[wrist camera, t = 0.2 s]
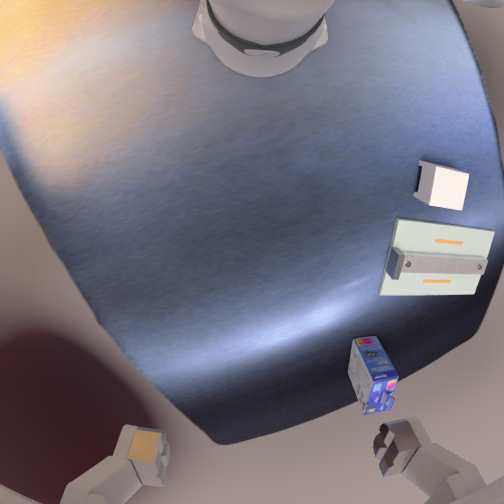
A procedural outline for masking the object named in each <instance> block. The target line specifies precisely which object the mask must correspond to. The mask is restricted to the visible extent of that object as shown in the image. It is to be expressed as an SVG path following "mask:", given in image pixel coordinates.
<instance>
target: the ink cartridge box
mask: <svg viewBox="0 0 504 504" xmlns="http://www.w3.org/2000/svg"><path fill="white" fill-rule="evenodd" d="M348 374H349V377H350V379H351V382H352V385H353V387H354V390H355V392H356V395H357V398H358V401H359V403H360V406H361V408H362V411H363V414H364V415H366V414H370V413H374V412H380V411H384V410H387V409H388V410H391V408H392V405H393V403H394V400H395V399H394V398H393V397H392V395H393V392H394V390H395V386H396V384H397V381H398V377H399V376H398V374H397V372H396V371H395V369H394V367H393V365H392V363H391V361H390V360H389V358H388V356H387V354H386V352H385V351H384V349H383V347H382V345H381V344H380V342H379V340H378V338H377V337H376V336H369V337H362V338H355V339H353V342H352V349H351V355H350V362H349V368H348Z"/></svg>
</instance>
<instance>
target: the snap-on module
mask: <svg viewBox="0 0 504 504" xmlns="http://www.w3.org/2000/svg"><path fill="white" fill-rule="evenodd" d="M419 165H420V166H422V171H421V177H420V183H419V188H418V192H415V191H414V195H413V196H414V197H416V198H418V199H419V200H421V201H423V202H424V203H426V204H428V205H431V206H438V207H444V208H450V209H456V210H462V207H463V203H464V198H465V193H466V188H467V183H468V178H469V174H467V173H465V172H462V171H459V170H457V169H454V168H451V167H447V166H442V165H438V164H434V163H429V162H425V161H420V160H419Z"/></svg>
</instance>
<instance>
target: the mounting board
mask: <svg viewBox="0 0 504 504" xmlns="http://www.w3.org/2000/svg"><path fill="white" fill-rule="evenodd" d="M493 236H494V231H492V230H488V229H481V228H474V227H467V226H460V225H452V224H444V223H436V222H428V221H420V220H411V219H402V218H396V222H395V226H394V231H393V235H392V240H391V244H390V248H389V252H388V256H387V261H386V264H385V268H384V272H383V276H382V280H381V283H380V287H379V290H378V293H379V295H458V294H474V293H475V290H476V287H477V285H478V282H479V279H480V276H481V274H438V273H404V272H401V273H400V277H399V280H392V278H391V277H390V276H389V275H388V273H387V272H386V268H387V264H388V260H389V256H390V252H391V248H392V247H395V248H398V249H400V250H401V251H405V252H421V253H436V254H451V255H466V256H481V257H485V258H486V259H487V256H488V253H489V249H490V246H491V243H492V239H493Z"/></svg>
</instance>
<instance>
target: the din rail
mask: <svg viewBox="0 0 504 504" xmlns="http://www.w3.org/2000/svg"><path fill="white" fill-rule="evenodd" d="M487 262H488V259H486V258H485V257H481V256H466V255H451V254H436V253H421V252H405V251H401V250H400V249H398V248H395V247H392V248H391V252H390V256H389V260H388V264H387V268H386V272H387V273H388V275H389V276H390V277H391V278H392V280H399V277H400V273H401V272H404V273H438V274H481V275H483V274H484V271H485V268H486V265H487Z"/></svg>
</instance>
